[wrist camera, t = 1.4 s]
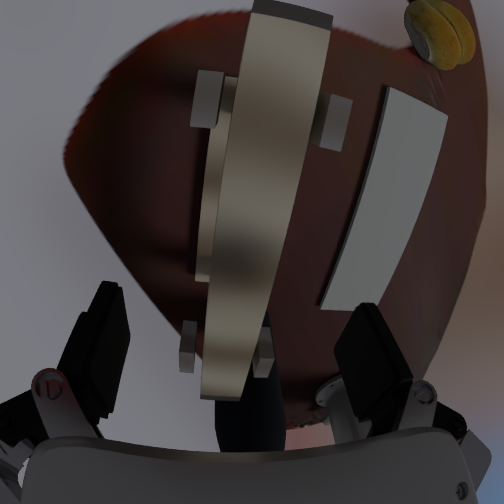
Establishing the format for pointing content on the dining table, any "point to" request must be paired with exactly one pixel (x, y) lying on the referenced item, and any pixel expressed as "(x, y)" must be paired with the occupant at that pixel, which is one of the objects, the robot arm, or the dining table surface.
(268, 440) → the wine bottle
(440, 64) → the bread roll
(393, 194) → the mat
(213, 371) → the rail
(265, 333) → the rack
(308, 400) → the dining table surface
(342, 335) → the robot arm
